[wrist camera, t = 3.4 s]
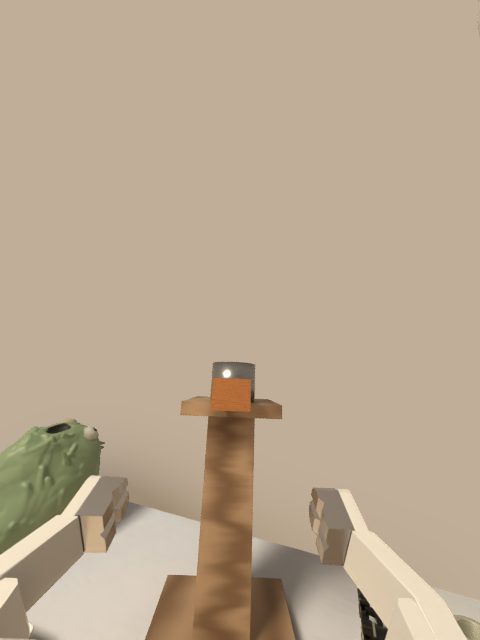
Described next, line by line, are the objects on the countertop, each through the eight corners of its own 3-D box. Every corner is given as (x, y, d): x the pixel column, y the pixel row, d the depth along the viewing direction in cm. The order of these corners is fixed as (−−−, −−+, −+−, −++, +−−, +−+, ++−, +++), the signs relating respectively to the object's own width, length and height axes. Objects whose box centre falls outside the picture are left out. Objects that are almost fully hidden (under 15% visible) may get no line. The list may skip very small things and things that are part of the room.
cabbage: (-85, 571, 33) (-34, 423, 39) (60, 511, 49) (81, 413, 55) (-46, 624, 26) (9, 435, 32) (106, 534, 43) (125, 420, 48)
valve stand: (281, 597, 31) (279, 399, 39) (307, 720, 20) (298, 406, 27) (166, 593, 31) (186, 395, 38) (125, 714, 20) (165, 400, 27)
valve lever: (252, 400, 34) (253, 366, 35) (265, 412, 19) (265, 354, 21) (212, 398, 34) (214, 365, 35) (195, 409, 19) (200, 351, 21)
